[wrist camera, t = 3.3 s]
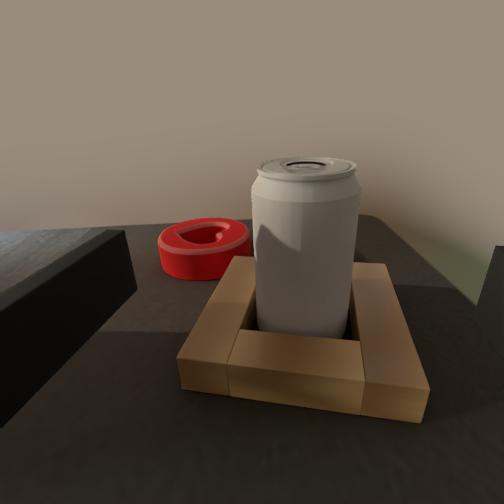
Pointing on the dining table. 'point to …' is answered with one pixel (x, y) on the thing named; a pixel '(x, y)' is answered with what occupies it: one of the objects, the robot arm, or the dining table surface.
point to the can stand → (308, 352)
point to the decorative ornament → (202, 247)
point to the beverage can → (304, 244)
